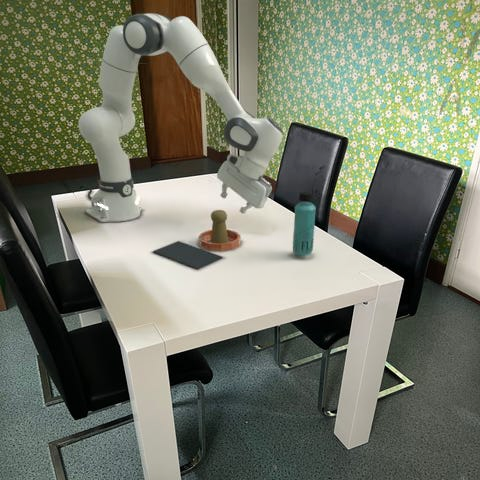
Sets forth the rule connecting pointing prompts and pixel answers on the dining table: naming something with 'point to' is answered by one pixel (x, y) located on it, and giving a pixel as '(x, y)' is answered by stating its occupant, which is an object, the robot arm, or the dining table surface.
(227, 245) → the orange ring
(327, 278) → the dining table surface
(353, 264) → the dining table surface
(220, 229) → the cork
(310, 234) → the beverage bottle
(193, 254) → the mat
